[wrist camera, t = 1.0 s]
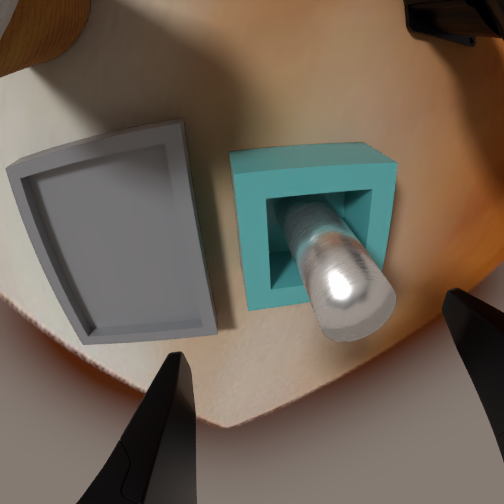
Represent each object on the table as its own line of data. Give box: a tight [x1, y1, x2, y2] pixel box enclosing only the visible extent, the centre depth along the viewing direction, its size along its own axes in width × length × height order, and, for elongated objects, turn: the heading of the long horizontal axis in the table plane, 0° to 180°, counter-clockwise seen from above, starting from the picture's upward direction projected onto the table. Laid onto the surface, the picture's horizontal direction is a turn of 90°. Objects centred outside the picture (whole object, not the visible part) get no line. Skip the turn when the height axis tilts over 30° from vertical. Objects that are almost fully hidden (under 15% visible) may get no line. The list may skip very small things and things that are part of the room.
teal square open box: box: [229, 142, 397, 311], centre depth 20 cm, size 9×9×4 cm
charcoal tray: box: [6, 118, 218, 345], centre depth 21 cm, size 12×16×2 cm
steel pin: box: [277, 193, 396, 342], centre depth 17 cm, size 4×4×10 cm
